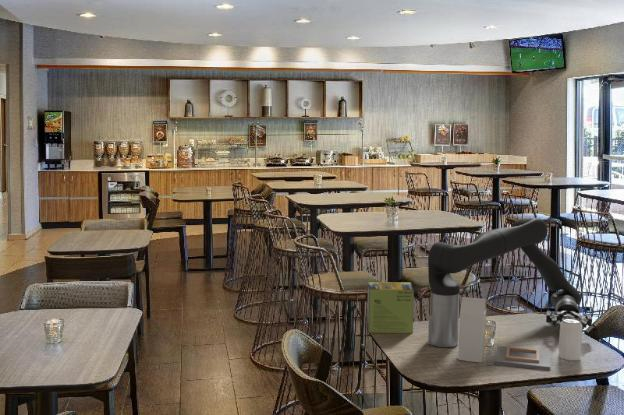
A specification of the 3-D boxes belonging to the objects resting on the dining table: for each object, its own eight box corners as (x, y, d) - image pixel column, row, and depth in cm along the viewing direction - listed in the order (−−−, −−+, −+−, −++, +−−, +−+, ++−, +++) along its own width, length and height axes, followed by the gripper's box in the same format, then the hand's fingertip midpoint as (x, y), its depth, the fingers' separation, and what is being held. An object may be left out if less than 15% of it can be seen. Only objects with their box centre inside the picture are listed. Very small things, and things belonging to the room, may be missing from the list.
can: (570, 362, 210) (572, 324, 209) (553, 356, 216) (555, 318, 215) (585, 359, 213) (587, 321, 212) (568, 352, 219) (570, 316, 217)
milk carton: (481, 363, 210) (484, 302, 207) (458, 360, 212) (460, 300, 210) (484, 355, 217) (486, 296, 214) (461, 352, 219) (463, 294, 216)
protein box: (413, 333, 238) (414, 289, 236) (368, 333, 238) (369, 289, 236) (409, 324, 249) (410, 281, 246) (366, 323, 249) (367, 281, 247)
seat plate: (494, 364, 209) (494, 358, 209) (497, 348, 223) (497, 342, 223) (550, 370, 204) (550, 364, 204) (549, 353, 218) (549, 348, 218)
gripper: (546, 298, 242) (546, 311, 227) (590, 302, 238) (593, 315, 223) (545, 319, 244) (545, 333, 228) (588, 323, 239) (592, 338, 224)
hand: (569, 324), depth 226 cm, fingers open, 8 cm apart
